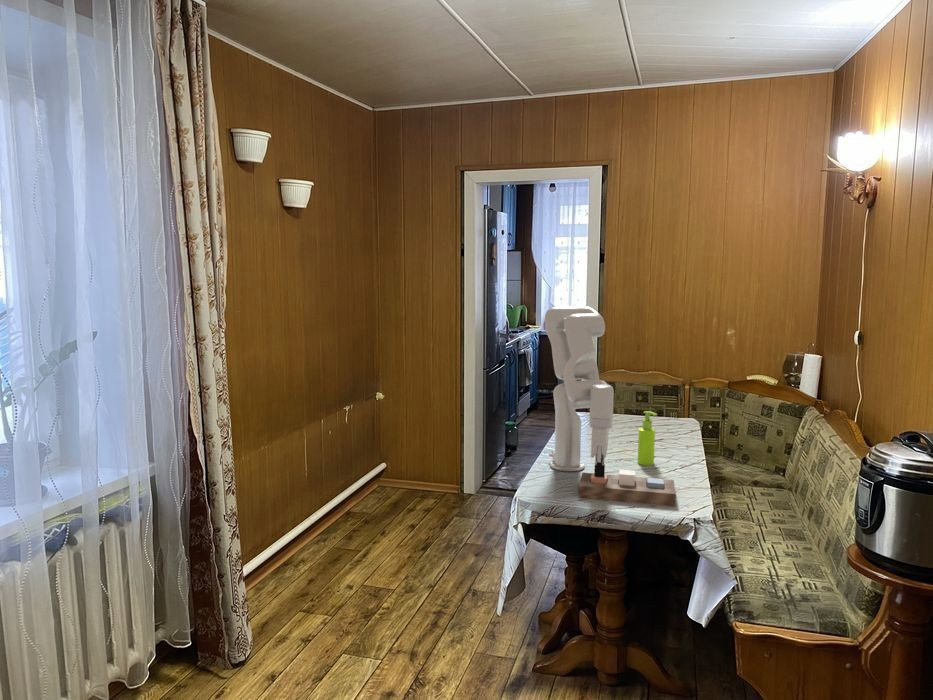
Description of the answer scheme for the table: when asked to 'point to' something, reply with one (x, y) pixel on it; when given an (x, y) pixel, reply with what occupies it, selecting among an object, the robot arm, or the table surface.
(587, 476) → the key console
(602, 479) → the terracotta key
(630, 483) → the ivory key
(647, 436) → the soap dispenser
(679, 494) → the table surface
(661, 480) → the slate key
